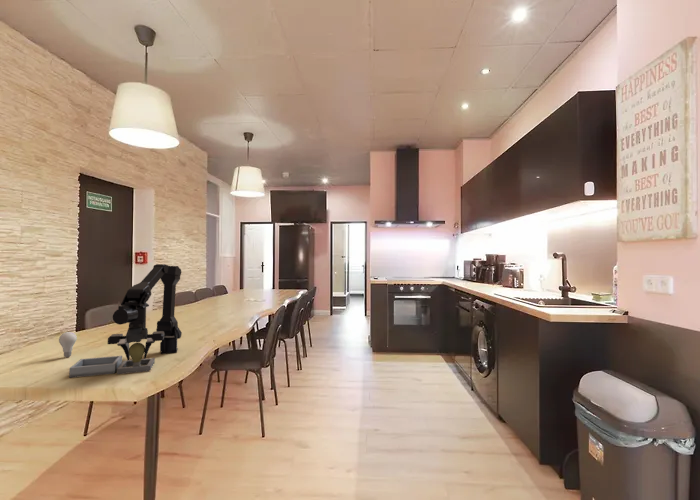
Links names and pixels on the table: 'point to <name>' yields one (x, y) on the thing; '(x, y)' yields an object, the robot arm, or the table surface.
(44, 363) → the table surface
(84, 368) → the parts tray
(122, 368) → the socket collar
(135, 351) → the light bulb
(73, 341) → the lightbulb
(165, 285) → the robot arm
